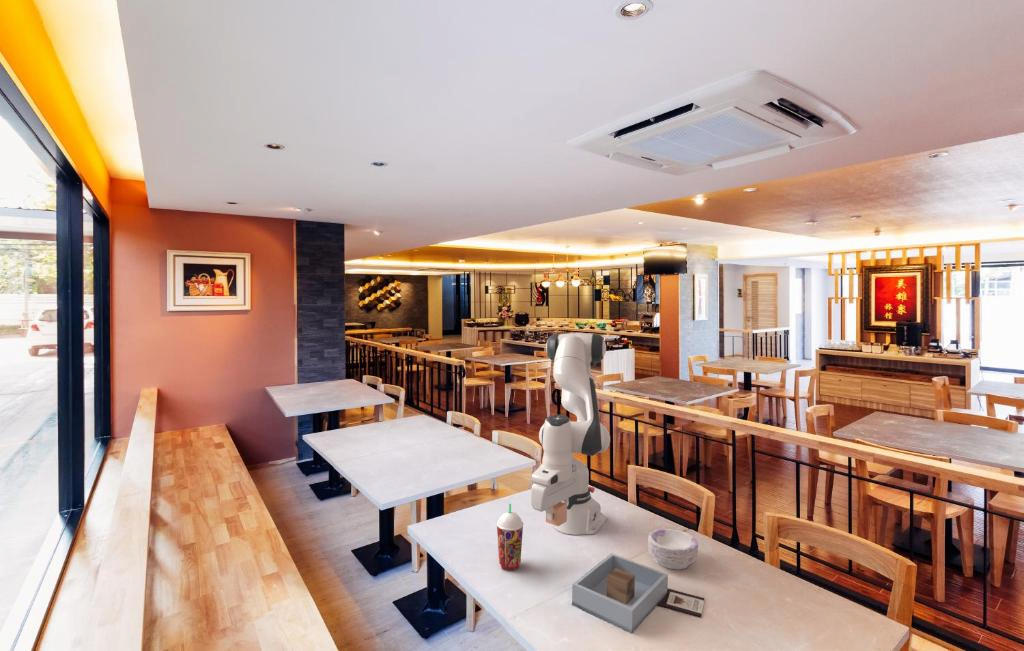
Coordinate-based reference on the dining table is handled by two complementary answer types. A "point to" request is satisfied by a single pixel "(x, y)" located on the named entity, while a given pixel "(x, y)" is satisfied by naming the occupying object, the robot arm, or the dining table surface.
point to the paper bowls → (673, 548)
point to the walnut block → (620, 586)
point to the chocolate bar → (682, 603)
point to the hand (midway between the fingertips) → (556, 515)
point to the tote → (594, 600)
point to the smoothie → (509, 540)
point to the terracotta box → (558, 514)
